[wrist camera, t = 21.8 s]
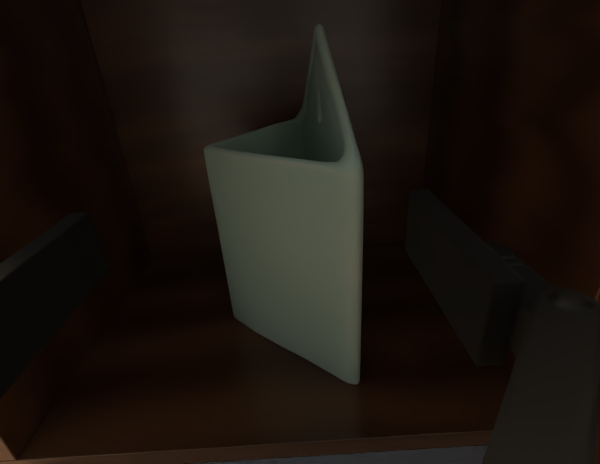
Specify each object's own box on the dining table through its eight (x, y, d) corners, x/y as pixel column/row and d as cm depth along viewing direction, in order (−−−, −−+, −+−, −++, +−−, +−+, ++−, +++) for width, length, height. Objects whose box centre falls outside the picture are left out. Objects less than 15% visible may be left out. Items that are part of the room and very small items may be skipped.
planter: (235, 264, 35) (197, 39, 27) (313, 253, 36) (302, 33, 27) (231, 406, 21) (145, 15, 12) (361, 384, 22) (371, 3, 13)
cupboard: (563, 440, 19) (1084, -775, 6) (3, 475, 19) (-815, -635, 6) (424, 245, 39) (465, -127, 25) (148, 263, 39) (42, -99, 25)
